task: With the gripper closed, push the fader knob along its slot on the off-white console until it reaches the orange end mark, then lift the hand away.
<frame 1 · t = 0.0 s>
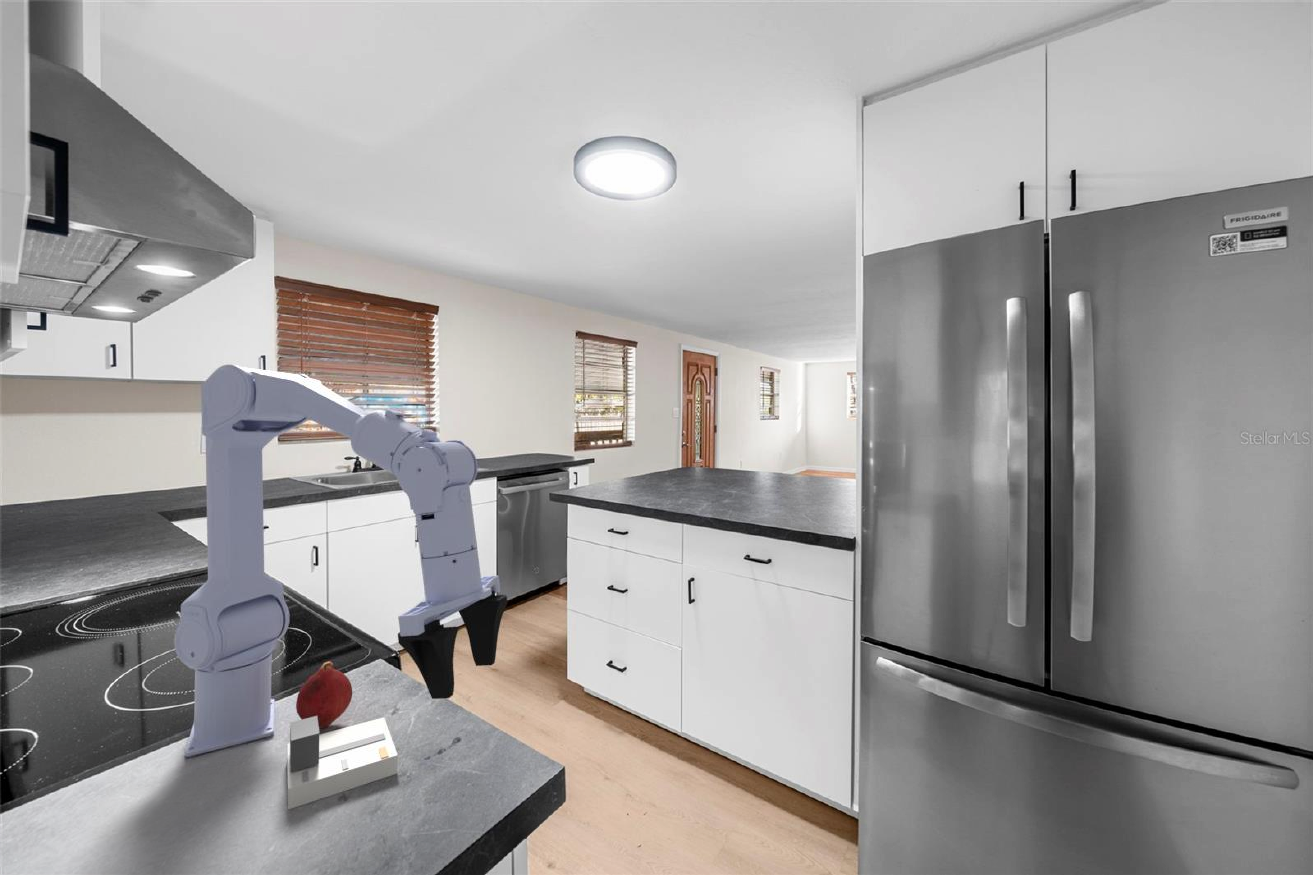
hand: (465, 679, 55), 11 cm above the worktop, tool pointing down, fingers open, 7 cm apart
console: (341, 767, 57), on the worktop
fader knob: (304, 742, 55), point 4 cm above the worktop, slide at 0.0 cm
onion: (324, 729, 64), on the worktop
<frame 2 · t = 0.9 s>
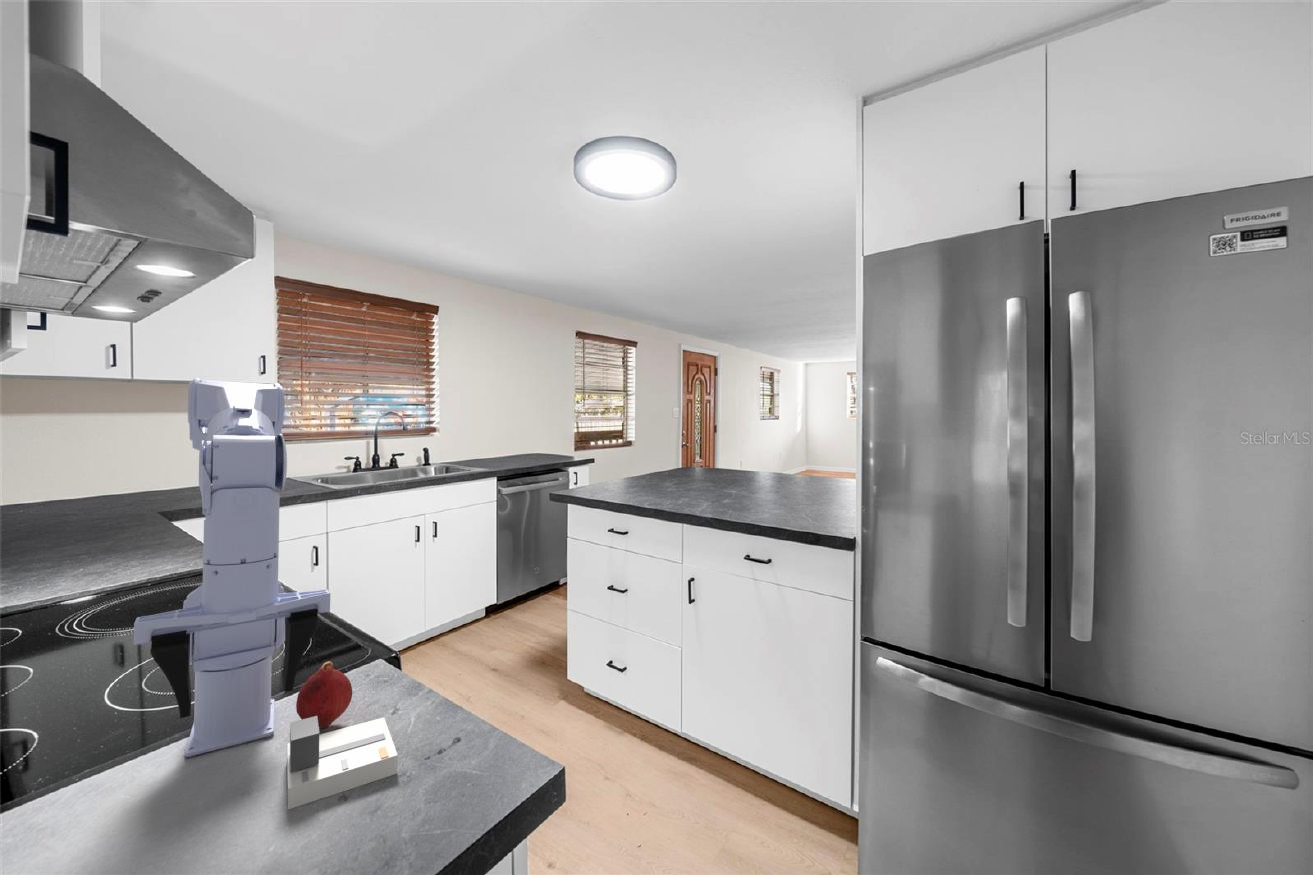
hand: (239, 699, 50), 11 cm above the worktop, tool pointing down, fingers open, 7 cm apart
nothing on the worktop moved.
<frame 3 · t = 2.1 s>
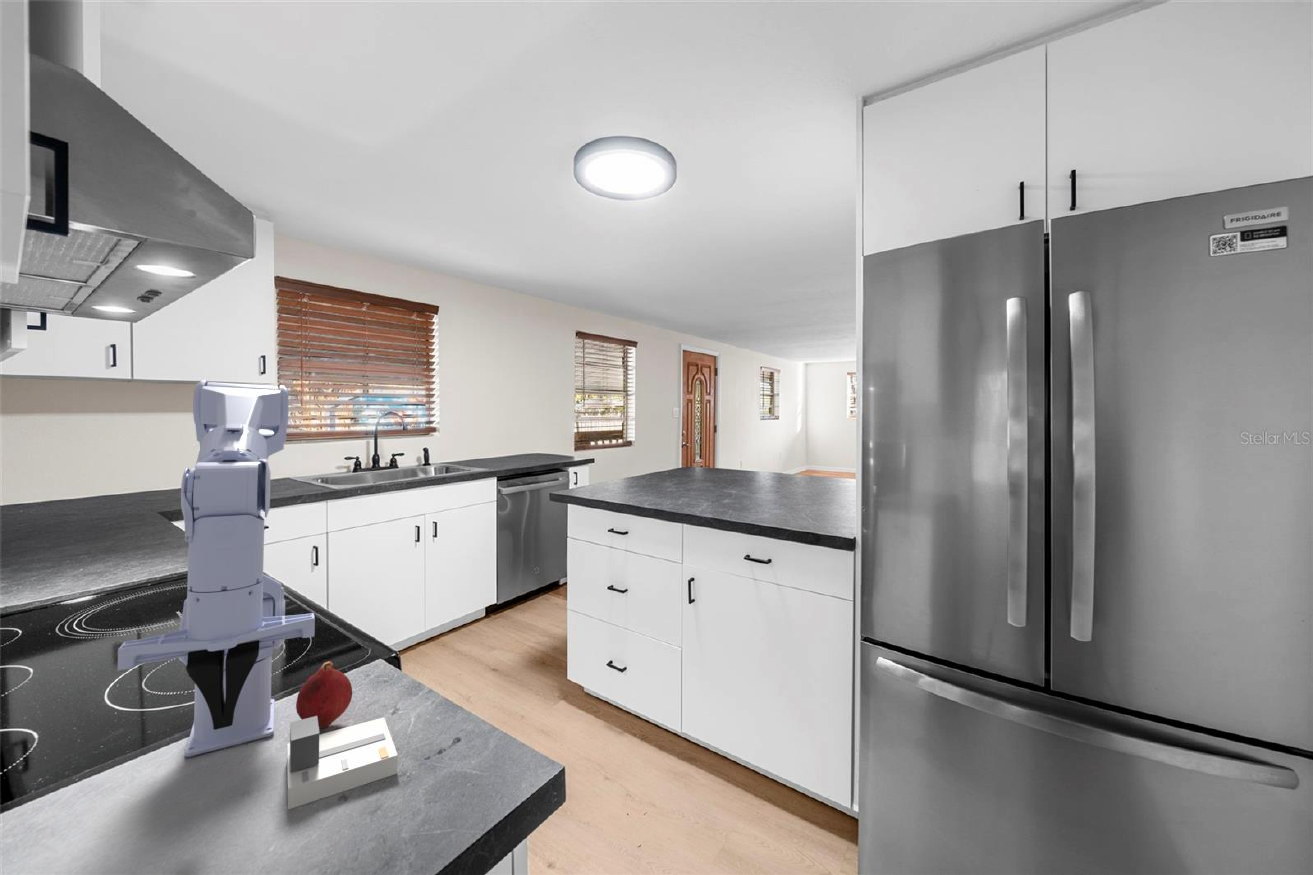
hand: (223, 723, 51), 8 cm above the worktop, tool pointing down, fingers closed
nothing on the worktop moved.
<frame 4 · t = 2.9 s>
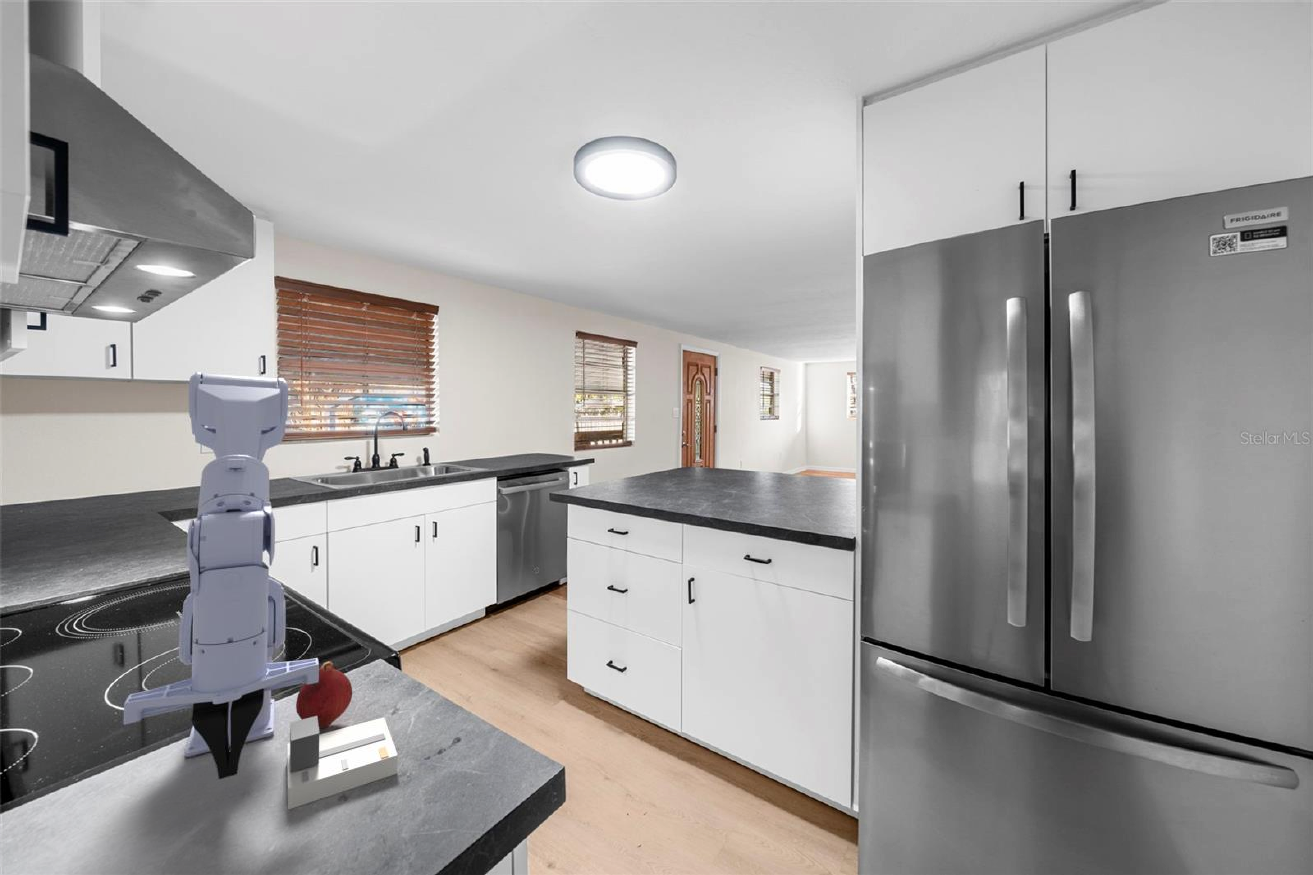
hand: (228, 771, 51), 3 cm above the worktop, tool pointing down, fingers closed
nothing on the worktop moved.
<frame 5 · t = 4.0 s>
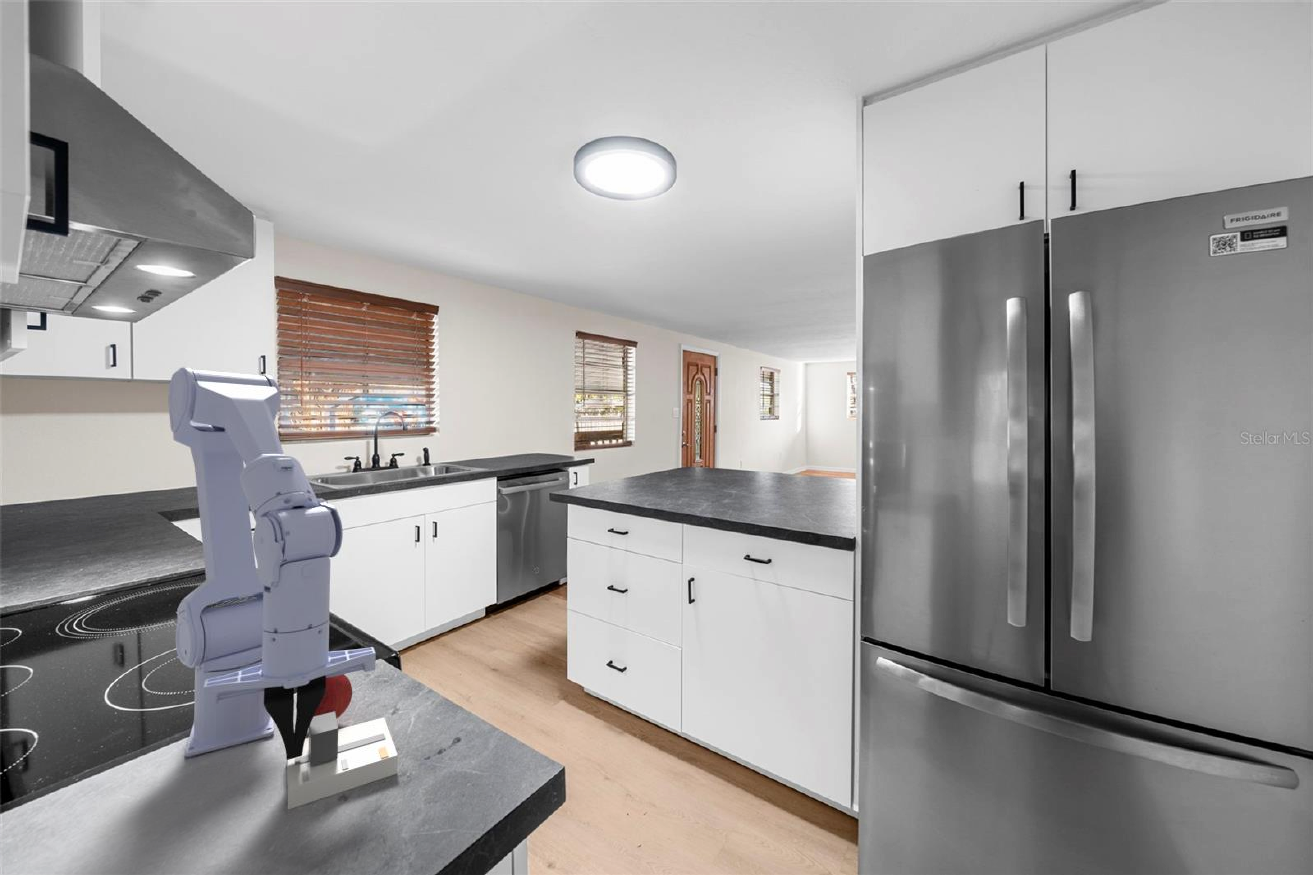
hand: (294, 753, 54), 3 cm above the worktop, tool pointing down, fingers closed
fader knob: (323, 737, 56), point 4 cm above the worktop, slide at 1.7 cm, touching gripper
everything else where it was.
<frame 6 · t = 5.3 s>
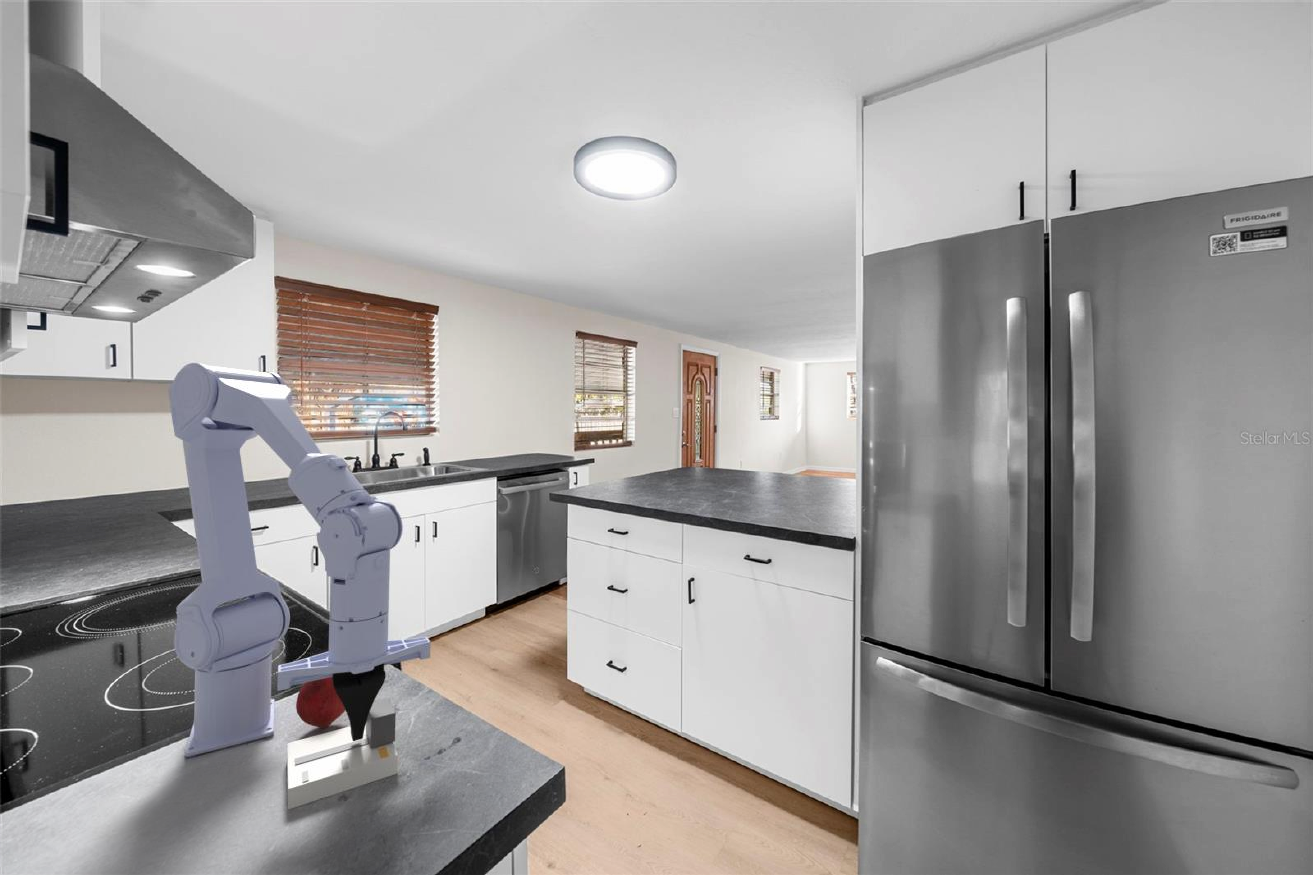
hand: (357, 735, 57), 3 cm above the worktop, tool pointing down, fingers closed
fader knob: (380, 722, 59), point 4 cm above the worktop, slide at 7.1 cm, touching gripper
everything else where it was.
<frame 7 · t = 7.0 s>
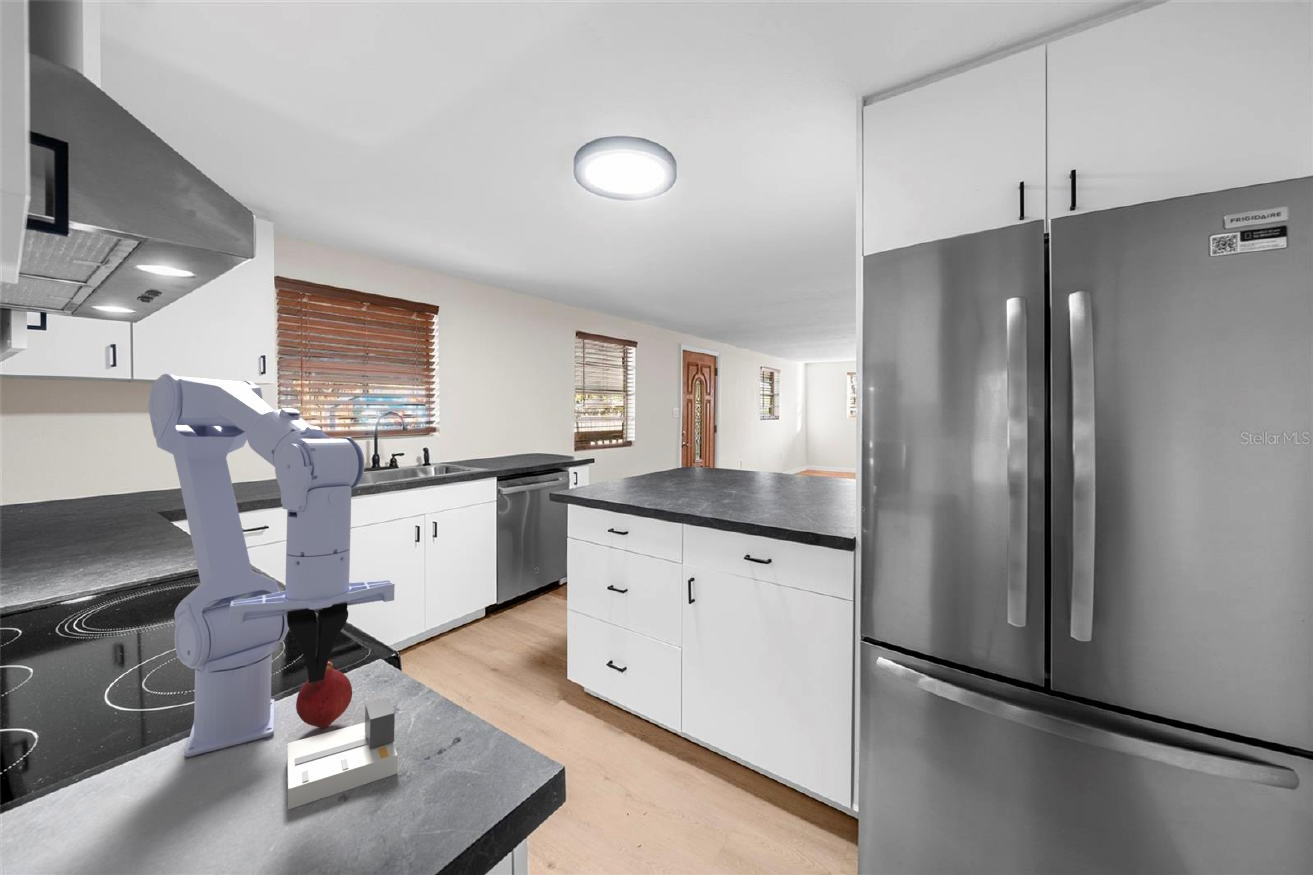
hand: (316, 677, 55), 10 cm above the worktop, tool pointing down, fingers closed
fader knob: (379, 722, 59), point 4 cm above the worktop, slide at 7.1 cm
everything else where it was.
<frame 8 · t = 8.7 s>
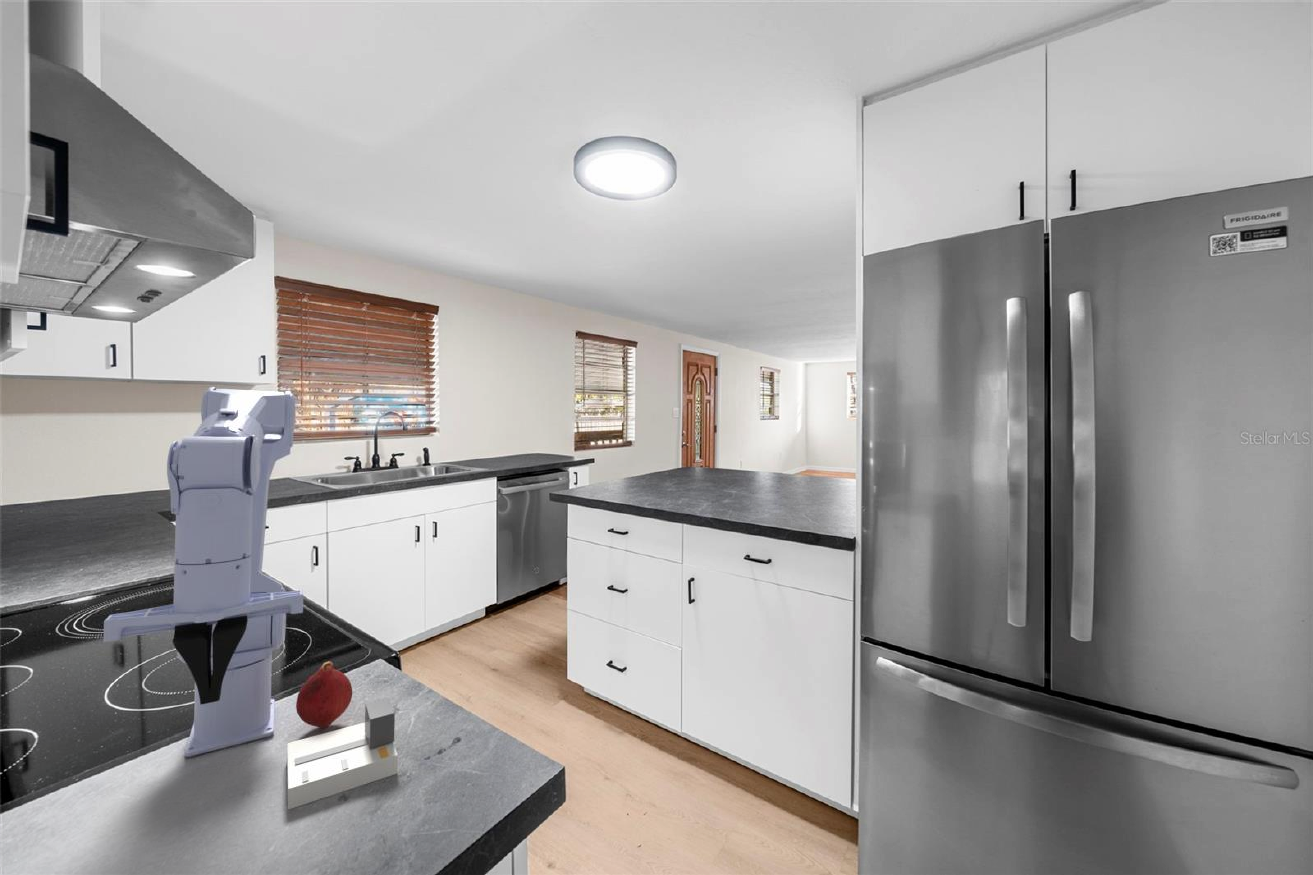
hand: (210, 698, 50), 10 cm above the worktop, tool pointing down, fingers closed
nothing on the worktop moved.
at the end: fader knob slide at 7.1 cm; onion moved 0.2 cm from its start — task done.
